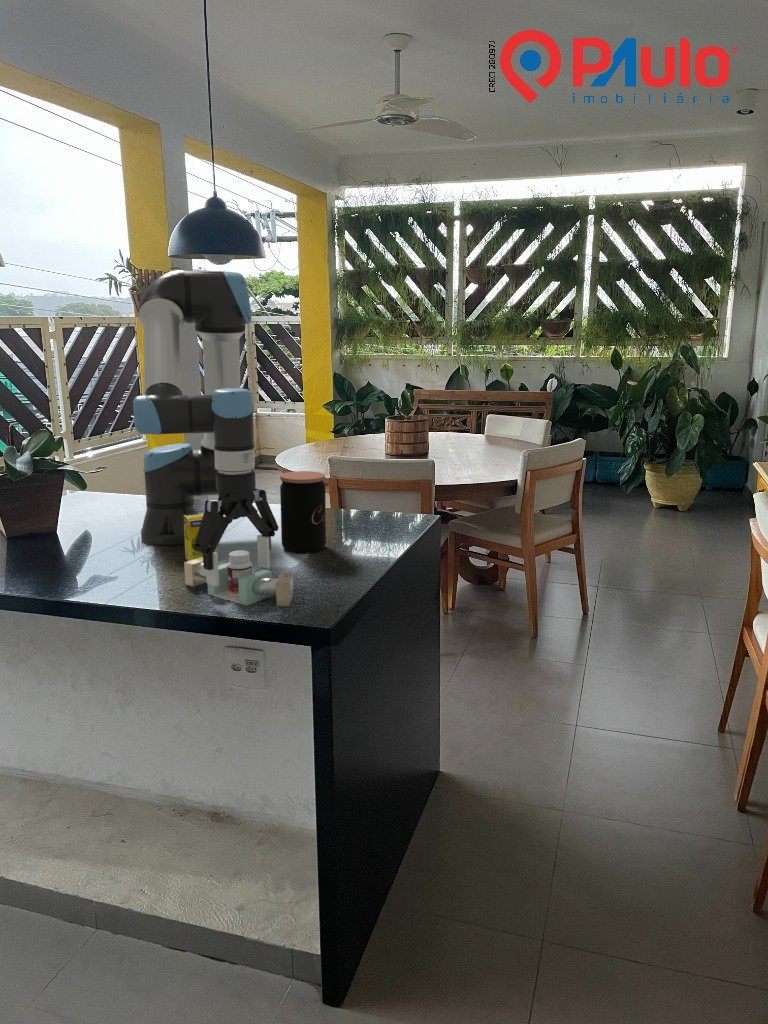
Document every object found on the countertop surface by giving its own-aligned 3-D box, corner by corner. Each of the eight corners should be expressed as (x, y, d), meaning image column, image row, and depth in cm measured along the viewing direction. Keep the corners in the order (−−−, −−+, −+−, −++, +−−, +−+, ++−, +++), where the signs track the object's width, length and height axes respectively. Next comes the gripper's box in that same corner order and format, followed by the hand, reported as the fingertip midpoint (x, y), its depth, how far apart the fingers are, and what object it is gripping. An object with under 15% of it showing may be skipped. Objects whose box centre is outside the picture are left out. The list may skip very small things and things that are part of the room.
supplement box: (191, 568, 168) (189, 520, 166) (185, 561, 173) (182, 514, 171) (218, 565, 171) (216, 517, 168) (211, 558, 176) (208, 512, 173)
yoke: (208, 594, 152) (206, 569, 151) (234, 585, 158) (233, 561, 157) (246, 606, 146) (245, 580, 145) (272, 596, 151) (271, 571, 150)
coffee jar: (318, 555, 178) (317, 480, 174) (275, 552, 180) (273, 478, 176) (331, 543, 189) (330, 472, 184) (289, 540, 191) (288, 470, 186)
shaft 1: (182, 583, 158) (181, 561, 157) (201, 577, 162) (200, 556, 161) (212, 592, 153) (210, 570, 152) (230, 586, 157) (229, 564, 156)
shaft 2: (249, 605, 146) (248, 581, 145) (254, 596, 151) (253, 573, 150) (290, 606, 146) (290, 582, 145) (294, 597, 151) (293, 574, 150)
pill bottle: (230, 589, 154) (228, 549, 152) (253, 589, 154) (252, 549, 152) (227, 597, 149) (225, 556, 147) (251, 597, 150) (250, 556, 148)
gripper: (196, 483, 134) (202, 597, 139) (294, 463, 154) (296, 563, 159) (169, 478, 138) (176, 588, 144) (267, 459, 158) (270, 556, 163)
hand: (239, 575), depth 151 cm, fingers open, 13 cm apart
